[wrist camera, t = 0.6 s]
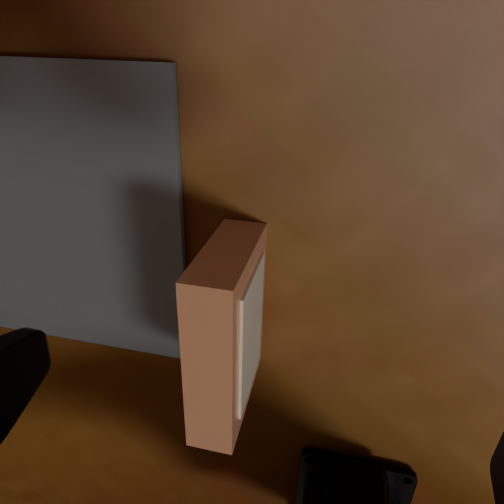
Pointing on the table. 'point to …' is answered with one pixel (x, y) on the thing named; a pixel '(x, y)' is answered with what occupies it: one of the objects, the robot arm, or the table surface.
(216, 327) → the tile
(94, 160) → the mat
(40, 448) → the table surface
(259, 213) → the table surface
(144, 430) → the table surface
